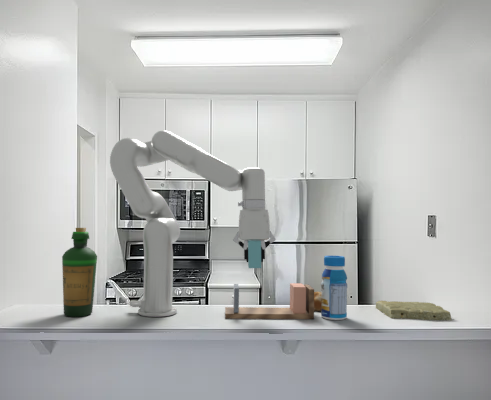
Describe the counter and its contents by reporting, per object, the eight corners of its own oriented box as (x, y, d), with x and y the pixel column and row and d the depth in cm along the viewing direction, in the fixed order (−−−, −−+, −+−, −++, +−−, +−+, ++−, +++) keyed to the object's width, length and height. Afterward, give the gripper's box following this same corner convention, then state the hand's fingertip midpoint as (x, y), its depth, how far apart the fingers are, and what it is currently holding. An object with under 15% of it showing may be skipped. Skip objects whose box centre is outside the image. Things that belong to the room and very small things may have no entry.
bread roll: (327, 323, 150) (337, 302, 150) (300, 308, 152) (310, 288, 152) (326, 316, 160) (335, 297, 160) (301, 303, 162) (310, 284, 161)
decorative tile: (375, 308, 160) (375, 299, 160) (430, 310, 159) (430, 300, 159) (390, 320, 141) (390, 309, 141) (453, 322, 141) (453, 311, 141)
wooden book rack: (225, 318, 138) (225, 288, 139) (225, 311, 148) (225, 283, 149) (313, 319, 140) (314, 289, 140) (308, 312, 150) (308, 284, 150)
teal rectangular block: (248, 268, 138) (248, 241, 138) (248, 265, 146) (247, 240, 146) (261, 268, 138) (260, 241, 138) (260, 265, 146) (259, 239, 146)
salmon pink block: (293, 313, 140) (293, 287, 141) (289, 308, 148) (290, 283, 149) (305, 313, 141) (305, 287, 141) (301, 308, 149) (301, 283, 149)
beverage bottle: (341, 322, 136) (342, 258, 137) (316, 318, 141) (317, 256, 141) (350, 317, 143) (351, 256, 144) (326, 313, 148) (327, 254, 149)
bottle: (52, 317, 136) (55, 227, 138) (73, 310, 147) (76, 227, 148) (82, 319, 134) (85, 228, 135) (101, 312, 144) (104, 227, 145)
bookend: (233, 312, 139) (234, 288, 139) (233, 306, 148) (233, 283, 148) (238, 312, 139) (239, 288, 139) (237, 306, 148) (238, 283, 148)
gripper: (227, 205, 139) (228, 263, 138) (280, 204, 139) (281, 262, 138) (228, 206, 146) (229, 261, 145) (278, 205, 146) (279, 260, 146)
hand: (254, 261), depth 142 cm, fingers closed on teal rectangular block, 4 cm apart
